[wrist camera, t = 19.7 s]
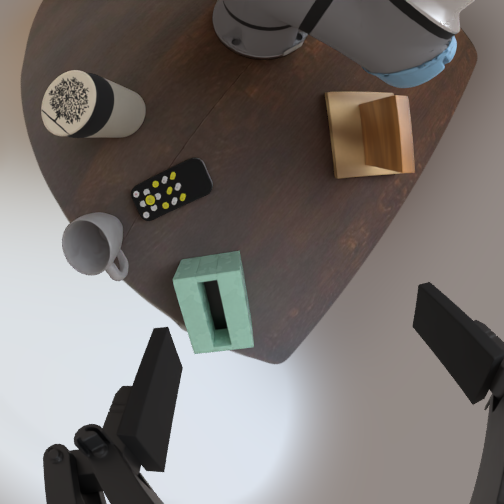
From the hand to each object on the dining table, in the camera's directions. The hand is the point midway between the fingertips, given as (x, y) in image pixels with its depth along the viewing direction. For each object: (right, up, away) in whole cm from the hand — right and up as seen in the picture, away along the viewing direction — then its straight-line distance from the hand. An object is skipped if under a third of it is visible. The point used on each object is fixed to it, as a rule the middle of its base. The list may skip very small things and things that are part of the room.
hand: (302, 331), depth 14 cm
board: (+16, +23, +29) cm, 41 cm away
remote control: (-15, +14, +31) cm, 37 cm away
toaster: (-9, -3, +38) cm, 39 cm away
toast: (+16, +23, +28) cm, 39 cm away
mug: (-26, +7, +33) cm, 43 cm away
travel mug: (-23, +26, +26) cm, 44 cm away
